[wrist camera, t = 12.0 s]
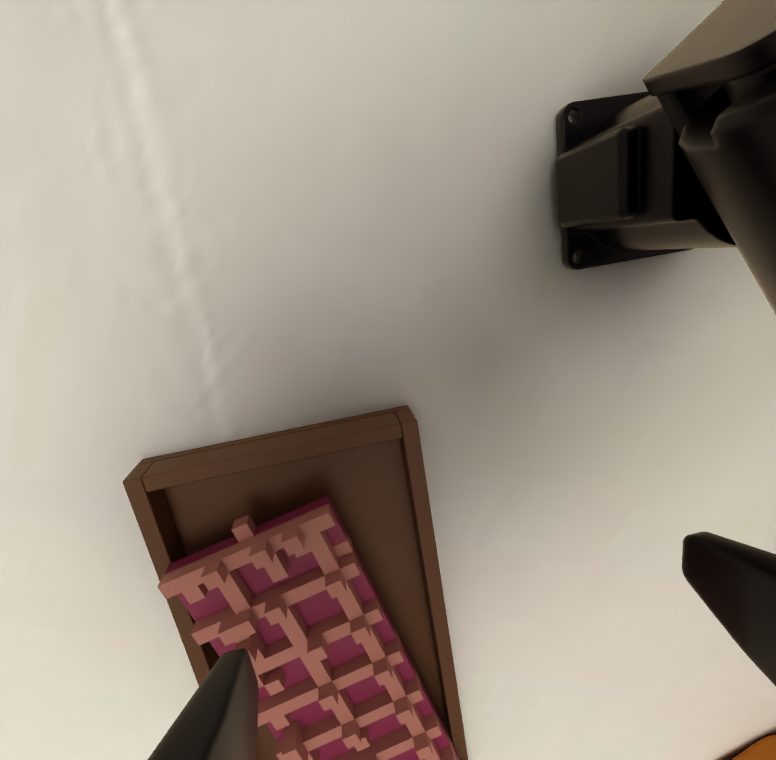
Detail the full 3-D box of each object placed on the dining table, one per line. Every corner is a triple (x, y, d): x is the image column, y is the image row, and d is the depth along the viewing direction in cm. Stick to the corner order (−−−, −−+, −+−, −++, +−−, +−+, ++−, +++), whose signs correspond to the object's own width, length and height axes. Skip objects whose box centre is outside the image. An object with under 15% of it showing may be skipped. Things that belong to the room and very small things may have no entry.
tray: (407, 404, 20) (417, 419, 18) (463, 764, 27) (474, 803, 25) (141, 459, 19) (121, 481, 17) (270, 821, 26) (266, 866, 24)
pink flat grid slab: (321, 482, 18) (322, 508, 16) (462, 763, 24) (474, 805, 22) (160, 552, 18) (142, 586, 16) (341, 819, 24) (343, 867, 22)
